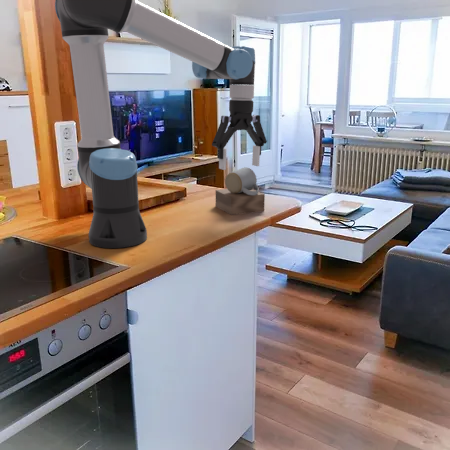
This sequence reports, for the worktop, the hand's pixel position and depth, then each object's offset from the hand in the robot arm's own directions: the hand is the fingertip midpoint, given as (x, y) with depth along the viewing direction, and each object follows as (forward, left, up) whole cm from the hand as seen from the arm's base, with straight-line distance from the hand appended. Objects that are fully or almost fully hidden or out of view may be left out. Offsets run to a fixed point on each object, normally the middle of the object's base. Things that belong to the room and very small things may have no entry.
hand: (239, 167), depth 154 cm
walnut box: (0, 0, -14) cm, 14 cm away
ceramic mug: (+1, -1, -8) cm, 8 cm away
